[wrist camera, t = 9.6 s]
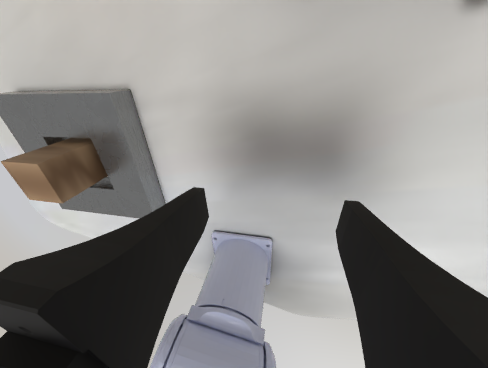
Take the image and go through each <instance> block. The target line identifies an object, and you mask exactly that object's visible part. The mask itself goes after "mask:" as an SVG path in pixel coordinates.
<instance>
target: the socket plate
mask: <svg viewBox="0 0 488 368" xmlns="http://www.w3.org/2000/svg"><path fill="white" fill-rule="evenodd" d="M0 116H1V118H2V119H3V121H4V122H5V124H6V125H7V127H8V128H9V130H10V131H11V133H12V134H13V136H14V137H15V139H16V140H17V142H18V143H19V145H20V146H21V148H22V149H23V151H24V152H25V153H27V152H30V151H33V150H36V149H39V148H42V147H45V146H48V145H51V144H54V143H57V142H60V141H63V140H66V139H69V138H91V140H92V142H93V144H94V147H95V149H96V151H97V153H98V155H99V157H100V160H101V162H102V164H103V166H104V168H105V171H106V173H107V175H108V177H105V178H104V179H102V180H100V181H99V182H97V183H95V184H94V185H92V186H91V187H89V188H87V189H86V190H84V191H82V192H81V193H79V194H78V195H76V196H74V197H73V198H71V199H69V200H68V201H66V202H64V203H59V204H60V206H61V207H62V209H69V210H77V211H85V212H93V213H101V214H109V215H117V216H125V217H133V218H142V217H144V216H146V215H147V214H149V213H151V212H153V211H155V210H156V209H158V208H160V207H162V206H163V205H165V201H164V198H163V195H162V191H161V188H160V185H159V182H158V178H157V175H156V172H155V169H154V165H153V162H152V159H151V156H150V153H149V149H148V146H147V143H146V140H145V136H144V133H143V130H142V127H141V123H140V120H139V117H138V114H137V110H136V107H135V104H134V101H133V97H132V94H131V91H130V89H128V90H74V91H19V92H7V93H0Z"/></svg>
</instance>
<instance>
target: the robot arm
mask: <svg viewBox="0 0 488 368" xmlns="http://www.w3.org/2000/svg"><path fill="white" fill-rule="evenodd" d="M208 218H209V214H208V208H207V202H206V197H205V191H204V188H195V187H194V188H192V189H190V190H188V191H186V192H185V193H183V194H181V195H180V196H178V197H177V198H175V199H173V200H172V201H170V202H168V203H167V204H165V205H163V206H162V207H160V208H158V209H156V210H155V211H153V212H151V213H149V214H147V215H146V216H144V217H142V218H140V219H138V220H136V221H134V222H132V223H130V224H128V225H125V226H123V227H121V228H119V229H117V230H114V231H112V232H109V233H107V234H104V235H102V236H99V237H97V238H94V239H91V240H89V241H86V242H83V243H80V244H77V245H74V246H71V247H68V248H65V249H62V250H59V251H55V252H52V253H48V254H45V255H41V256H38V257H34V258H30V259H27V260H23V261H19V262H15V263H13V264H12V265H10V266H8V267H7V268H5V269H4V270H3V271H1V272H0V326H1V327H2V328H4V329H5V330H6V331H7V332H6V333H5V334H4V335H3V336H2V337H1V338H0V368H147V367H148V363H149V360H150V357H151V354H152V351H153V348H154V345H155V342H156V339H157V336H158V333H159V330H160V328H161V325H162V322H163V319H164V316H165V314H166V311H167V309H168V306H169V303H170V301H171V298H172V295H173V293H174V291H175V288H176V285H177V283H178V280H179V278H180V276H181V274H182V272H183V270H184V268H185V266H186V264H187V262H188V260H189V258H190V257H191V255H192V253H193V251H194V249H195V247H196V245H197V243H198V242H199V240H200V238H201V236H202V234H203V232H204V229H205V226H206V224H207V221H208ZM215 237H216V238H215ZM336 237H337V244H338V250H339V254H340V257H341V261H342V264H343V267H344V271H345V274H346V278H347V281H348V284H349V288H350V291H351V294H352V298H353V302H354V306H355V311H356V316H357V321H358V326H359V332H360V337H361V343H362V349H363V354H364V360H365V368H488V298H487V297H486V296H484V295H482V294H481V293H479V292H478V291H476V290H474V289H473V288H471V287H469V286H468V285H466V284H465V283H463V282H462V281H460V280H459V279H457V278H455V277H454V276H452V275H451V274H450V273H448V272H447V271H445V270H444V269H442V268H441V267H439V266H438V265H436V264H435V263H434V262H432V261H431V260H429V259H428V258H427V257H425V256H424V255H423V254H421V253H420V252H419V251H417V250H416V249H415V248H413V247H412V246H411V245H410V244H408V243H407V242H406V241H404V240H403V239H402V238H401V237H399V236H398V235H397V234H396V233H395V232H393V231H392V230H391V229H390V228H389V227H388V226H386V225H385V224H384V223H383V222H382V221H381V220H380V219H378V218H377V217H376V216H375V215H374V214H373V213H372V212H371V211H369V210H368V209H367V208H366V207H365V206H364V205H362V204H361V203H360V202H359V201H347V200H345V202H344V205H343V208H342V212H341V215H340V219H339V222H338V225H337V229H336ZM212 241H213V247H214V253H215V256H214V259H213V261H212V264H211V266H210V269H209V271H208V274H207V276H206V279H205V281H204V284H203V286H202V289H201V291H200V294H199V296H198V299H197V302H196V304H195V306H194V305H192V307H191V309H190V311H189V313H188V316H187V315H185V314H181V315H180V316H179V317H177V318H175V319H174V320H173V321H172V322H171V324H170V325H169V327H168V329H167V330H166V332H165V334H164V336H163V338H162V341H161V342H160V344H159V347H158V349H157V351H156V353H155V356H154V358H153V361H152V363H151V366H150V368H276V361H275V356H274V354H273V351H272V349H271V346H270V344H269V343H267V342H264V334H265V329H263V328H261V318H262V310H263V302H264V293H265V285H269V284H270V273H271V257H272V240H271V239H270V238H263V237H255V236H247V235H240V234H232V233H224V232H216V231H214V232H213V233H212ZM267 244H268V245H267Z"/></svg>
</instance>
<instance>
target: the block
mask: <svg viewBox="0 0 488 368" xmlns="http://www.w3.org/2000/svg"><path fill="white" fill-rule="evenodd" d="M1 163H2V164H3V165H4V167H5V168H6V169H7V171H8V172H9V173H10V174H11V176H12V177H13V178H14V180H15V181H16V182H17V184H18V185H19V186H20V188H21V189H22V190H23V192H24V193H25V194H26V196H27V197H28V198H29V200H38V201H46V202H55V203H64V202H66V201H68V200H69V199H71V198H73V197H74V196H76V195H78V194H79V193H81V192H82V191H84V190H86V189H87V188H89V187H91V186H92V185H94V184H95V183H97V182H99V181H100V180H102V179H104V178H105V177H107V176H108V175H107V173H106V171H105V168H104V166H103V164H102V162H101V160H100V157H99V155H98V153H97V151H96V149H95V147H94V144H93V142H92V140H91V138H69V139H66V140H63V141H60V142H57V143H54V144H51V145H48V146H45V147H42V148H39V149H36V150H33V151H30V152H27V153H24V154H21V155H18V156H15V157H12V158H9V159H6V160H3V161H1Z"/></svg>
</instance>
